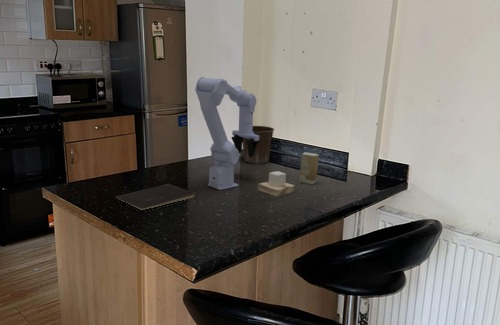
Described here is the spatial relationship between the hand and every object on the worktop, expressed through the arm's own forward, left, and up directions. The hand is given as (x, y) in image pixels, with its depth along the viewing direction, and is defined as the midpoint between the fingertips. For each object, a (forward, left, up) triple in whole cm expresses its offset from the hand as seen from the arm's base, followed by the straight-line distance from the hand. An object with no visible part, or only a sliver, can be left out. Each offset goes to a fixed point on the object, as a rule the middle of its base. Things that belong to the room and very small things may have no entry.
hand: (244, 154), depth 187 cm
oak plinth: (-2, -21, -10) cm, 24 cm away
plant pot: (+24, +18, -10) cm, 32 cm away
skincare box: (+17, -21, -10) cm, 29 cm away
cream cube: (-2, -21, -7) cm, 23 cm away
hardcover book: (-44, -2, -11) cm, 45 cm away
